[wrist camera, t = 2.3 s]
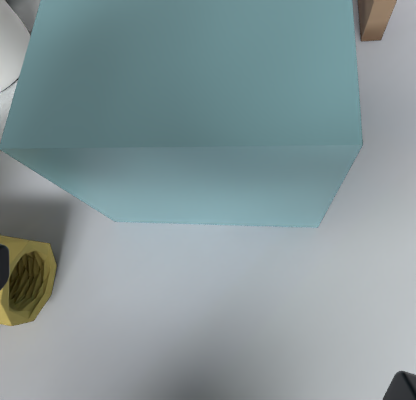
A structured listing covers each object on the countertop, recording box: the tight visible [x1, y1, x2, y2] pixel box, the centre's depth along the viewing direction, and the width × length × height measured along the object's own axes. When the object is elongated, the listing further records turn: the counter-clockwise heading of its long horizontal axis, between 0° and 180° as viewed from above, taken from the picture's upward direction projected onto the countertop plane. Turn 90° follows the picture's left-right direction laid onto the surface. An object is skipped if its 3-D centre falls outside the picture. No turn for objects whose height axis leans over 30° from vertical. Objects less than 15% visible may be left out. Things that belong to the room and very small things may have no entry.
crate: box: [0, 0, 363, 228], centre depth 17 cm, size 9×12×10 cm
